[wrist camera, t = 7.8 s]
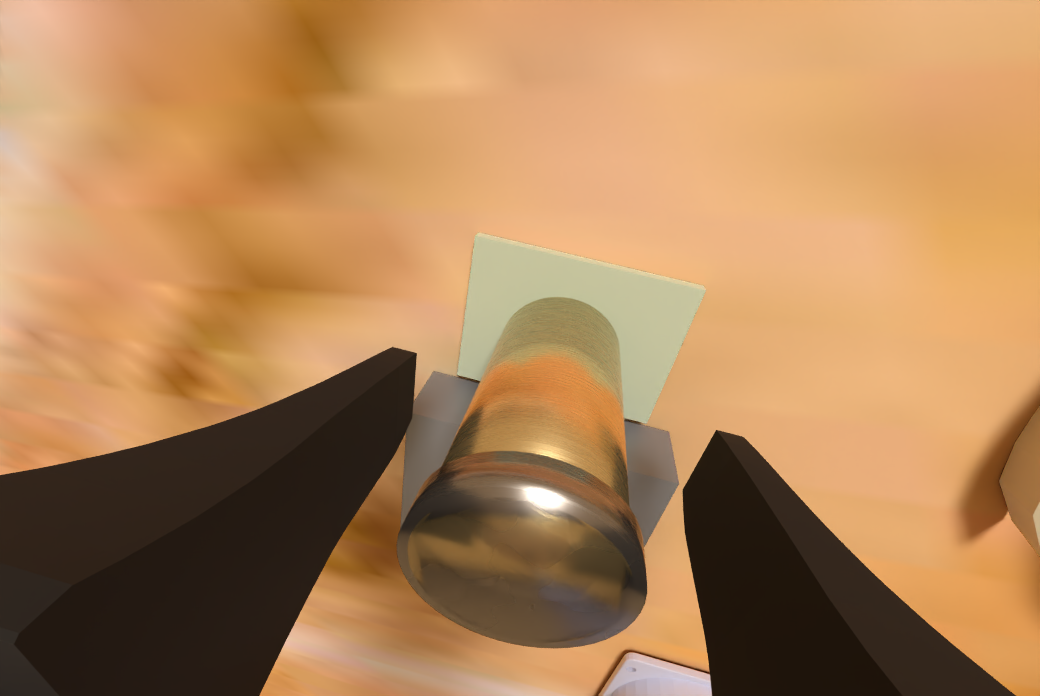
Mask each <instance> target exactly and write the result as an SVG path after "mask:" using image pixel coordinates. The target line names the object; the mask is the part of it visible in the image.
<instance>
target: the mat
mask: <svg viewBox="0 0 1040 696" xmlns="http://www.w3.org/2000/svg"><path fill="white" fill-rule="evenodd" d="M705 291H706V290H705V288H704V286H703V285H699V284H695V283H690V282H686V281H682V280H678V279H673V278H669V277H665V276H661V275H657V274H652V273H648V272H644V271H640V270H635V269H631V268H627V267H623V266H619V265H614V264H610V263H606V262H602V261H597V260H593V259H589V258H585V257H581V256H576V255H572V254H568V253H564V252H559V251H555V250H551V249H547V248H543V247H538V246H534V245H530V244H526V243H521V242H517V241H513V240H509V239H505V238H500V237H496V236H492V235H488V234H483V233H479V232H478V233H477V234H476V235H475V241H474V248H473V256H472V264H471V271H470V279H469V287H468V295H467V302H466V310H465V318H464V325H463V333H462V341H461V348H460V356H459V364H458V372H457V375H459V376H463V377H467V378H471V379H475V380H479V381H481V378H482V376H483V374H484V372H485V370H486V367H487V365H488V363H489V361H490V359H491V356H492V354H493V352H494V350H495V348H496V345H497V343H498V341H499V339H500V337H501V334H502V332H503V330H504V328H505V326H506V324H507V322H508V321H509V319H510V318H511V317H512V316H513V314H514V313H516V312H517V311H518V310H519V309H520V308H522V307H523V306H525V305H527V304H529V303H531V302H533V301H536V300H539V299H543V298H548V297H566V298H572V299H575V300H579V301H582V302H584V303H586V304H589V305H590V306H592V307H594V308H595V309H597V310H598V311H599V312H600V313H602V314H603V315H604V316H605V317H606V318H607V319H608V321H609V322H610V323H611V325H612V326H613V328H614V330H615V332H616V334H617V337H618V341H619V346H620V360H621V376H622V393H623V409H624V418H626V419H630V420H634V421H638V422H642V423H646V424H647V422H648V420H649V417H650V415H651V413H652V411H653V408H654V406H655V404H656V402H657V399H658V397H659V395H660V393H661V390H662V388H663V386H664V384H665V381H666V379H667V377H668V375H669V372H670V370H671V368H672V366H673V363H674V361H675V359H676V357H677V354H678V352H679V350H680V348H681V345H682V343H683V341H684V339H685V336H686V334H687V332H688V330H689V327H690V325H691V323H692V321H693V318H694V316H695V314H696V312H697V309H698V307H699V305H700V303H701V300H702V298H703V296H704V294H705Z"/></svg>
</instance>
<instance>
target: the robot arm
mask: <svg viewBox="0 0 1040 696" xmlns="http://www.w3.org/2000/svg"><path fill="white" fill-rule="evenodd" d="M416 356H417V353H414V352H410V351H406V350H402V349H398V348H394V347H392V348H389V349H387V350H385V351H383V352H381V353H379V354H377V355H375V356H373V357H371V358H369V359H367V360H365V361H363V362H361V363H359V364H357V365H355V366H353V367H351V368H349V369H347V370H345V371H343V372H341V373H339V374H337V375H335V376H333V377H331V378H329V379H327V380H325V381H323V382H321V383H319V384H316V385H314V386H312V387H309V388H307V389H305V390H303V391H300V392H298V393H296V394H293V395H291V396H289V397H287V398H284V399H282V400H280V401H277V402H275V403H273V404H270V405H268V406H265V407H262V408H260V409H257V410H255V411H252V412H249V413H246V414H244V415H241V416H238V417H235V418H232V419H229V420H226V421H223V422H221V423H218V424H214V425H211V426H208V427H205V428H201V429H198V430H195V431H191V432H188V433H184V434H181V435H177V436H174V437H170V438H167V439H163V440H160V441H156V442H153V443H149V444H146V445H142V446H138V447H134V448H130V449H125V450H121V451H117V452H113V453H109V454H105V455H100V456H96V457H91V458H86V459H82V460H77V461H73V462H68V463H63V464H58V465H54V466H49V467H44V468H39V469H33V470H27V471H22V472H16V473H10V474H5V475H0V696H259V695H260V693H261V691H262V689H263V687H264V685H265V683H266V681H267V679H268V676H269V674H270V672H271V670H272V668H273V666H274V664H275V662H276V660H277V658H278V656H279V654H280V652H281V650H282V648H283V645H284V643H285V641H286V639H287V637H288V635H289V633H290V631H291V629H292V628H293V626H294V624H295V622H296V620H297V618H298V616H299V614H300V612H301V610H302V608H303V606H304V604H305V602H306V600H307V598H308V596H309V594H310V592H311V590H312V588H313V586H314V585H315V583H316V581H317V579H318V577H319V575H320V573H321V571H322V569H323V568H324V566H325V564H326V562H327V560H328V558H329V556H330V554H331V553H332V551H333V549H334V547H335V546H336V544H337V542H338V541H339V539H340V537H341V536H342V534H343V532H344V531H345V529H346V528H347V526H348V525H349V523H350V522H351V520H352V519H353V517H354V516H355V514H356V513H357V511H358V510H359V508H360V507H361V505H362V504H363V502H364V500H365V499H366V497H367V496H368V494H369V493H370V491H371V490H372V488H373V487H374V485H375V484H376V482H377V481H378V479H379V478H380V476H381V475H382V473H383V472H384V470H385V468H386V467H387V465H388V464H389V462H390V461H391V459H392V458H393V456H394V454H395V453H396V451H397V449H398V447H399V445H400V443H401V441H402V439H403V437H404V435H405V433H406V431H407V428H408V426H409V424H410V422H411V420H412V415H413V401H414V386H415V371H416ZM683 512H684V526H685V535H686V541H687V546H688V552H689V557H690V562H691V568H692V573H693V578H694V583H695V588H696V593H697V598H698V603H699V608H700V613H701V618H702V624H703V629H704V634H705V640H706V647H707V653H708V660H709V670H710V674H707V673H704V672H700V671H697V670H693V669H690V668H686V667H683V666H680V665H676V664H673V663H669V662H666V661H662V660H659V659H655V658H652V657H648V656H645V655H642V654H638V653H634V652H629V653H627V654H625V655H624V657H623V658H622V660H621V661H620V663H619V664H618V666H617V667H616V669H615V671H614V672H613V674H612V675H611V677H610V678H609V680H608V681H607V683H606V684H605V686H604V687H603V689H602V691H601V692H600V694H599V695H598V696H1016V695H1014V694H1013V693H1012V692H1010V691H1009V690H1008V689H1007V688H1005V687H1004V686H1003V685H1002V684H1000V683H999V682H998V681H997V680H996V679H994V678H993V677H992V676H991V675H989V674H988V673H987V672H986V671H985V670H983V669H982V668H981V667H980V666H978V665H977V664H976V663H975V662H973V661H972V660H971V659H970V658H969V657H967V656H966V655H965V654H964V653H962V652H961V651H960V650H959V649H958V648H956V647H955V646H954V645H953V644H951V643H950V642H949V641H948V640H947V639H946V638H944V637H943V636H942V635H941V634H940V633H939V632H937V631H936V630H935V629H934V628H933V627H932V626H930V625H929V624H928V623H927V622H926V621H925V620H924V619H922V618H921V617H920V616H919V615H918V614H917V613H916V612H915V611H914V610H912V609H911V608H910V607H909V606H908V605H907V604H906V603H905V602H904V601H902V600H901V599H900V598H899V597H898V596H897V595H896V594H895V593H894V592H892V591H891V590H890V589H889V588H888V587H887V586H886V585H885V584H884V583H883V582H882V581H881V580H879V579H878V578H877V577H876V576H875V575H874V574H873V573H872V572H871V571H870V570H869V569H868V568H867V567H866V566H865V565H864V564H863V563H862V562H861V561H860V560H859V559H858V558H857V557H856V556H855V555H854V554H853V553H852V552H851V551H850V550H849V549H848V548H847V547H846V546H845V545H844V544H843V543H842V542H841V541H840V540H839V539H838V538H837V537H836V536H835V535H834V534H833V533H832V532H831V531H830V530H829V529H828V528H827V527H826V526H825V525H824V523H823V522H822V521H821V520H820V519H819V518H818V517H817V516H816V515H815V514H814V513H813V512H812V511H811V510H810V509H809V507H808V506H807V505H806V504H805V503H804V502H803V501H802V500H801V499H800V498H799V497H798V495H797V494H796V493H795V492H794V491H793V490H792V489H791V488H790V487H789V485H788V484H787V483H786V482H785V481H784V480H783V479H782V478H781V477H780V475H779V474H778V473H777V472H776V471H775V470H774V469H773V468H772V467H771V465H770V464H769V463H768V462H767V461H766V460H765V459H764V458H763V457H762V456H761V455H760V453H759V452H758V451H757V450H756V449H755V448H754V447H753V446H752V445H751V444H750V443H749V442H748V441H747V440H746V439H745V438H744V437H742V436H738V435H734V434H730V433H726V432H722V431H718V430H716V432H715V433H714V435H713V437H712V439H711V441H710V442H709V444H708V446H707V448H706V449H705V451H704V453H703V455H702V457H701V458H700V460H699V462H698V464H697V465H696V467H695V469H694V471H693V473H692V474H691V476H690V478H689V480H688V481H687V483H686V485H685V487H684V489H683Z"/></svg>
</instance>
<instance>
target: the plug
mask: <svg viewBox="0 0 1040 696" xmlns="http://www.w3.org/2000/svg"><path fill="white" fill-rule="evenodd" d="M397 556H398V560H399V564H400V567H401V569H402V571H403V574H404V575H405V577H406V579H407V580H408V582H409V584H410V585H411V586H412V587H413V589H414V590H415V591H416V592H417V594H418V595H419V596H420V597H421V598H422V599H423V600H424V601H425V602H427V603H428V604H429V605H430V606H431V607H433V608H434V609H435V610H436V611H438V612H439V613H441V614H442V615H444V616H445V617H447V618H448V619H450V620H452V621H453V622H455V623H457V624H459V625H461V626H463V627H465V628H467V629H469V630H471V631H474V632H476V633H479V634H481V635H484V636H486V637H490V638H493V639H496V640H499V641H503V642H507V643H511V644H516V645H522V646H528V647H538V648H570V647H578V646H584V645H589V644H593V643H597V642H600V641H603V640H606V639H608V638H610V637H612V636H614V635H616V634H618V633H620V632H621V631H623V630H624V629H626V628H627V627H628V626H629V625H630V624H631V623H632V622H634V621H635V619H636V618H637V617H638V615H639V614H640V613H641V610H642V608H643V606H644V604H645V600H646V596H647V578H646V567H645V555H644V544H643V537H642V532H641V528H640V526H639V523H638V521H637V519H636V517H635V515H634V514H633V512H632V510H631V509H630V506H629V490H628V474H627V458H626V441H625V425H624V409H623V393H622V376H621V360H620V346H619V341H618V337H617V334H616V332H615V330H614V328H613V326H612V325H611V323H610V322H609V321H608V319H607V318H606V317H605V316H604V315H603V314H602V313H600V312H599V311H598V310H597V309H595V308H594V307H592V306H590V305H589V304H586V303H584V302H582V301H579V300H575V299H572V298H566V297H548V298H543V299H539V300H536V301H533V302H531V303H529V304H527V305H525V306H523V307H522V308H520V309H519V310H518V311H517V312H516V313H514V314H513V316H512V317H511V318H510V319H509V321H508V322H507V324H506V326H505V328H504V330H503V332H502V334H501V337H500V339H499V341H498V343H497V345H496V348H495V350H494V352H493V354H492V356H491V359H490V361H489V363H488V365H487V367H486V370H485V372H484V374H483V376H482V378H481V381H480V383H479V385H478V387H477V389H476V392H475V394H474V396H473V398H472V400H471V403H470V405H469V407H468V409H467V411H466V414H465V416H464V418H463V420H462V423H461V425H460V427H459V429H458V431H457V434H456V436H455V438H454V440H453V442H452V445H451V447H450V449H449V451H448V453H447V456H446V458H445V460H444V462H443V464H442V467H440V468H439V469H438V470H436V471H435V472H433V473H432V474H431V475H430V476H429V477H428V478H427V479H426V481H425V482H424V483H423V485H422V486H421V488H420V489H419V491H418V493H417V495H416V498H415V500H414V502H413V504H412V506H411V508H410V510H409V512H408V514H407V516H406V518H405V520H404V522H403V524H402V527H401V529H400V532H399V534H398V539H397Z"/></svg>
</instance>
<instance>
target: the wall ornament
mask: <svg viewBox="0 0 1040 696" xmlns="http://www.w3.org/2000/svg"><path fill="white" fill-rule="evenodd" d="M999 483H1000V486H1001V489H1002V492H1003V495H1004V498H1005V501H1006V505H1007V508H1008V511H1009V514H1010V517H1011V520H1012V521H1013V523H1014V524H1015V525H1016V527H1017V528H1018V529H1019V530H1020V532H1021V533H1022V534H1023V536H1024V537H1025V538H1026V540H1027V541H1028V542H1029V544H1030V545H1031V546H1032V548H1033V549H1034V550H1035V551H1036V553H1037V554H1038V555H1039V557H1040V406H1039V407H1038V409H1037V410H1036V412H1035V413H1034V415H1033V416H1032V417H1031V419H1030V420H1029V422H1028V424H1027V425H1026V427H1025V428H1024V430H1023V431H1022V433H1021V434H1020V436H1019V437H1018V439H1017V440H1016V442H1015V444H1014V446H1013V449H1012V451H1011V454H1010V456H1009V458H1008V461H1007V463H1006V466H1005V468H1004V470H1003V473H1002V475H1001V478H1000V480H999Z"/></svg>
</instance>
